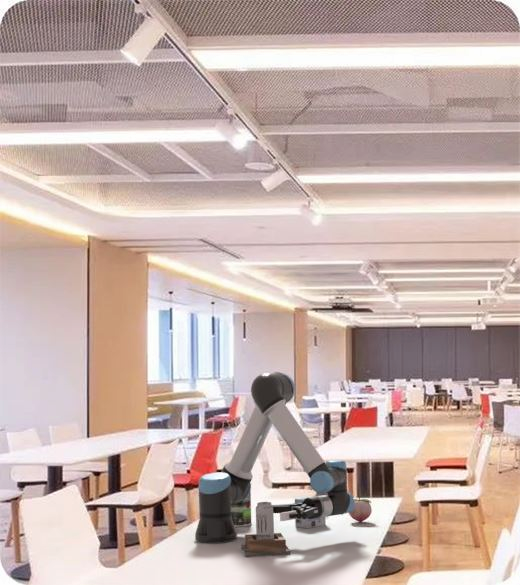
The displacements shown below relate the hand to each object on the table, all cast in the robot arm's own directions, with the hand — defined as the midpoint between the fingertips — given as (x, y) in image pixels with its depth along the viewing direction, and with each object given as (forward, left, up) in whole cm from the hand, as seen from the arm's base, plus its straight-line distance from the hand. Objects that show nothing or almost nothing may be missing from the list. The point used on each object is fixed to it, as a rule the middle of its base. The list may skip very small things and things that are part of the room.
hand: (268, 514), depth 339 cm
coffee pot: (-82, +34, -12) cm, 89 cm away
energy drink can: (0, -1, -11) cm, 11 cm away
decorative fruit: (-45, +41, -12) cm, 62 cm away
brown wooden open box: (0, -2, -12) cm, 12 cm away
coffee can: (-53, -6, -12) cm, 55 cm away
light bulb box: (-43, +21, -12) cm, 49 cm away
